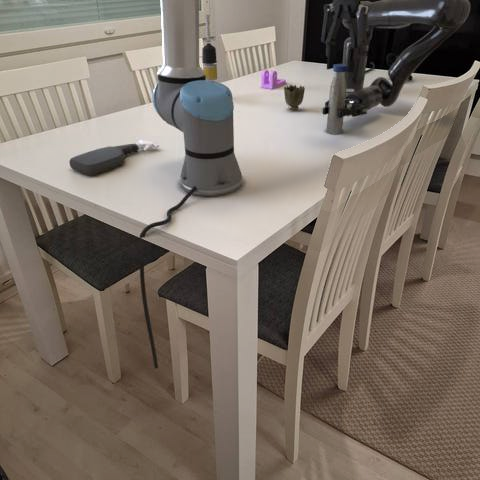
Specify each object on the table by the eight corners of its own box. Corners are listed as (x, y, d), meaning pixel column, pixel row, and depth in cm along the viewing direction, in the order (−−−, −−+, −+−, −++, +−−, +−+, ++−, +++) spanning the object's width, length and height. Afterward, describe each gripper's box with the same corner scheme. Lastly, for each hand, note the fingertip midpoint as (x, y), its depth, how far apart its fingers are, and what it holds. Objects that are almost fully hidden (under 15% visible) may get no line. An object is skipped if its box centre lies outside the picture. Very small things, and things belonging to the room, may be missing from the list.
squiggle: (400, 92, 202) (376, 71, 205) (417, 76, 202) (392, 56, 205) (405, 81, 191) (380, 59, 194) (423, 64, 191) (397, 42, 194)
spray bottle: (67, 168, 120) (139, 144, 136) (91, 178, 114) (163, 151, 130) (65, 157, 118) (137, 134, 134) (89, 167, 112) (162, 142, 128)
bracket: (272, 88, 190) (272, 71, 187) (261, 87, 193) (261, 70, 189) (288, 83, 199) (288, 66, 195) (277, 81, 202) (278, 65, 198)
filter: (220, 99, 177) (217, 15, 161) (206, 100, 176) (202, 16, 160) (215, 96, 182) (212, 14, 166) (202, 97, 180) (197, 14, 164)
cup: (280, 111, 162) (280, 88, 158) (287, 106, 167) (288, 84, 163) (299, 113, 159) (300, 90, 155) (306, 108, 164) (308, 85, 160)
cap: (336, 72, 130) (337, 67, 129) (330, 70, 134) (330, 64, 133) (349, 71, 131) (350, 65, 130) (342, 69, 134) (343, 63, 134)
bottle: (338, 135, 139) (345, 70, 129) (324, 132, 141) (329, 68, 131) (344, 130, 143) (350, 67, 133) (329, 128, 145) (335, 65, 135)
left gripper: (311, -20, 124) (306, 67, 136) (372, -19, 112) (361, 76, 124) (327, -21, 128) (321, 64, 140) (388, -20, 116) (375, 72, 129)
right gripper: (342, 86, 150) (312, 96, 139) (381, 93, 141) (353, 104, 131) (339, 109, 154) (311, 120, 143) (377, 116, 145) (350, 129, 135)
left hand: (340, 70), depth 132 cm, fingers open, 6 cm apart
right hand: (331, 112), depth 137 cm, fingers closed on bottle, 5 cm apart
